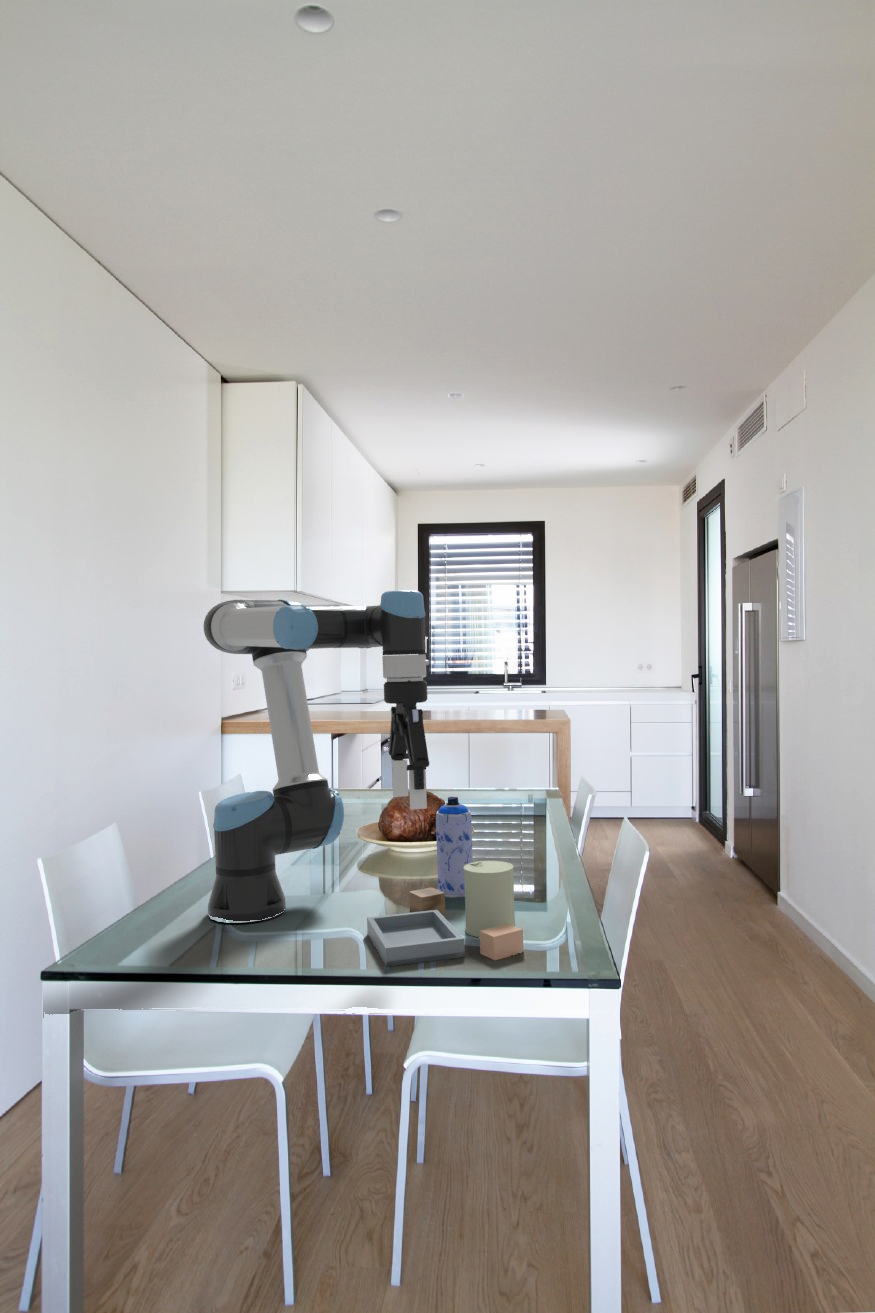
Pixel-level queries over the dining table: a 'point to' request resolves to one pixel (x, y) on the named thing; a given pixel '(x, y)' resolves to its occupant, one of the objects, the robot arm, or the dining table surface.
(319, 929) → the dining table surface
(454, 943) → the tray
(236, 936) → the dining table surface
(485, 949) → the soap block
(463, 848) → the aerosol can
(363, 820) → the dining table surface
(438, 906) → the walnut block
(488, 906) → the can
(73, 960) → the dining table surface
